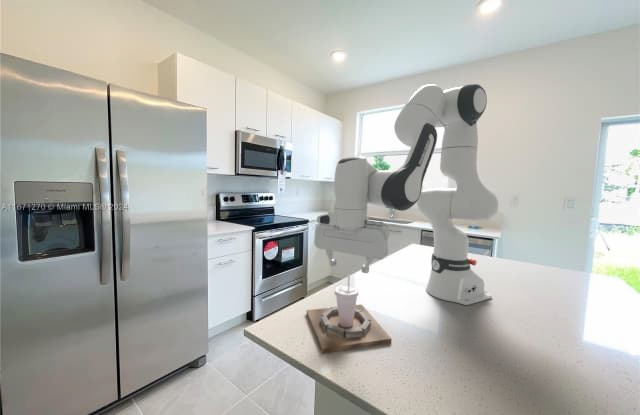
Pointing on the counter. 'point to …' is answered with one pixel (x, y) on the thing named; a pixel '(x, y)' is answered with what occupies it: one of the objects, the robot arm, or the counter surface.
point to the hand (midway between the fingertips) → (348, 268)
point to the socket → (346, 330)
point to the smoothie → (346, 303)
